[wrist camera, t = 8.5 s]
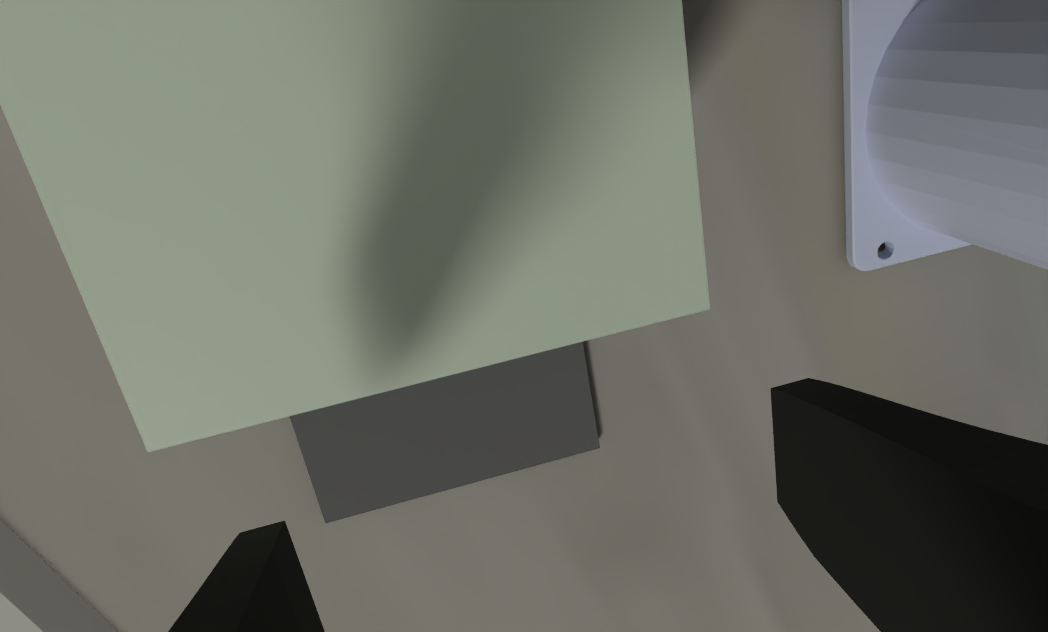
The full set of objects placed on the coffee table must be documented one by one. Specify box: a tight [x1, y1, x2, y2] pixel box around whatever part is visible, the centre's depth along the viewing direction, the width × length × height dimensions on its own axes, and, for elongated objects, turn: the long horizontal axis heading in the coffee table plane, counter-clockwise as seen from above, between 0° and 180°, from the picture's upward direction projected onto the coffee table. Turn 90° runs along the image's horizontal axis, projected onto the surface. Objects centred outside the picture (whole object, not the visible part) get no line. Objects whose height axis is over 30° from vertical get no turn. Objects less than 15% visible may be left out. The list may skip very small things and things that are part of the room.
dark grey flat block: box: [290, 342, 600, 523], centre depth 21 cm, size 8×5×1 cm, turn 100°
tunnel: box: [0, 0, 710, 452], centre depth 15 cm, size 10×10×7 cm
